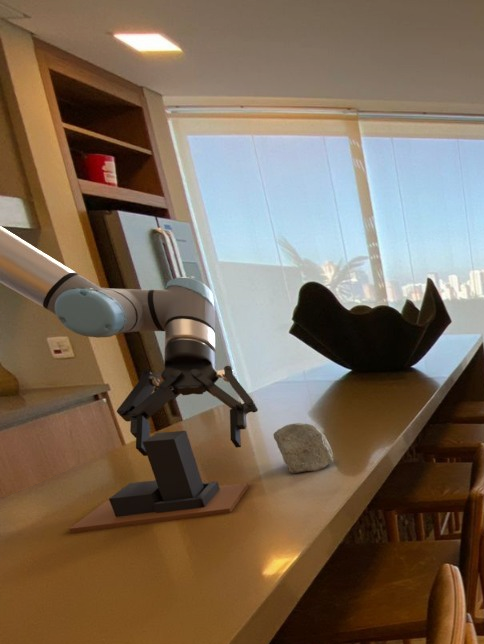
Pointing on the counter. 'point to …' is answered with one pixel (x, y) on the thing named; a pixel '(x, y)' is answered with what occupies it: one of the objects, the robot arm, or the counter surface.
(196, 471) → the tall black block
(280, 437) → the decorative stone
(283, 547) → the counter surface
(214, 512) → the dock mat
